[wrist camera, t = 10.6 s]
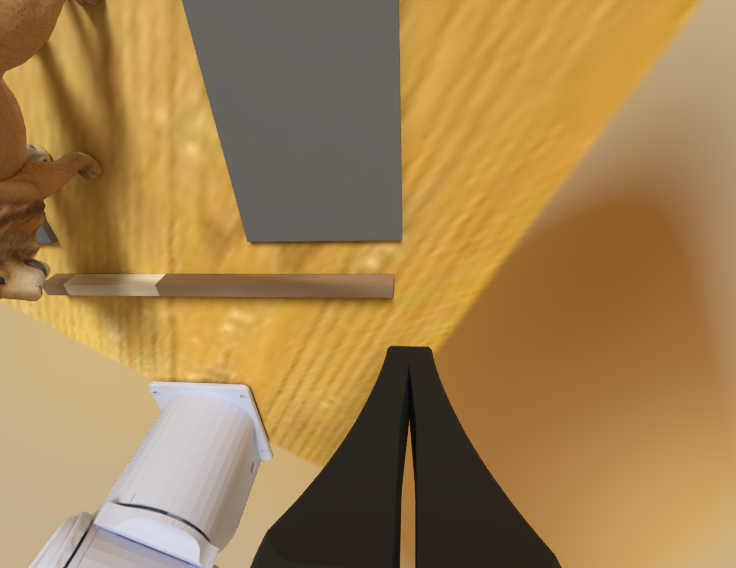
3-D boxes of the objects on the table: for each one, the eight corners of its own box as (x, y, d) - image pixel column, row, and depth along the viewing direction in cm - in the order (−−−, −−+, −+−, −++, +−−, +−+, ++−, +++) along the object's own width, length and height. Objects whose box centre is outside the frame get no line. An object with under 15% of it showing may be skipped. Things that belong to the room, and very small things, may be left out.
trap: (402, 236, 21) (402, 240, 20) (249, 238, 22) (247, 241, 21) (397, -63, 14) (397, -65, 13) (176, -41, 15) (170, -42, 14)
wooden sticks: (394, 285, 22) (393, 298, 21) (62, 284, 25) (47, 295, 24) (379, -198, 12) (376, -217, 11) (-186, -116, 15) (-229, -125, 14)
